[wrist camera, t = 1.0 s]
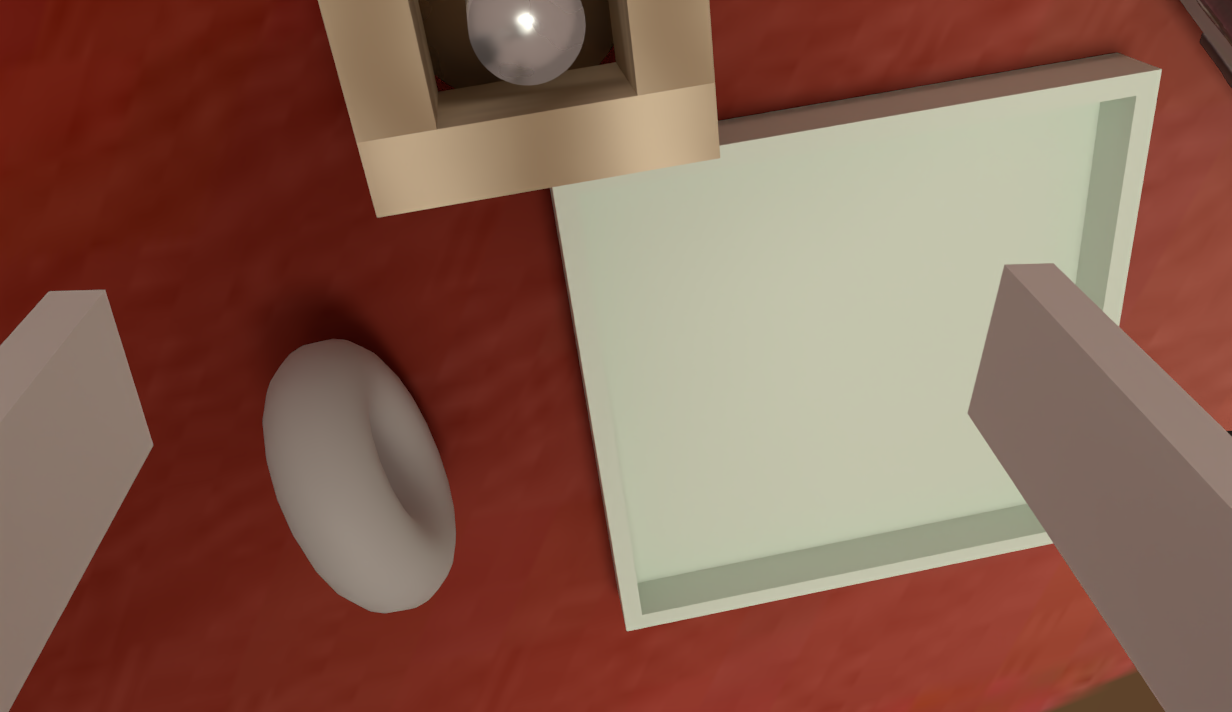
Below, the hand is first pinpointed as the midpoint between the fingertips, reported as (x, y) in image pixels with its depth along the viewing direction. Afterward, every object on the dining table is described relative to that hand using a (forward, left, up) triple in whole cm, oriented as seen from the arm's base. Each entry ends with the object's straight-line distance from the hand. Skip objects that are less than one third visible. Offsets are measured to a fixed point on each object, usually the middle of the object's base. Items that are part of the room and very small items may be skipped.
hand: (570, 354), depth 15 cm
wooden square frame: (+1, +3, -18) cm, 18 cm away
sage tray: (+12, -14, -21) cm, 28 cm away
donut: (-7, -12, -21) cm, 26 cm away
